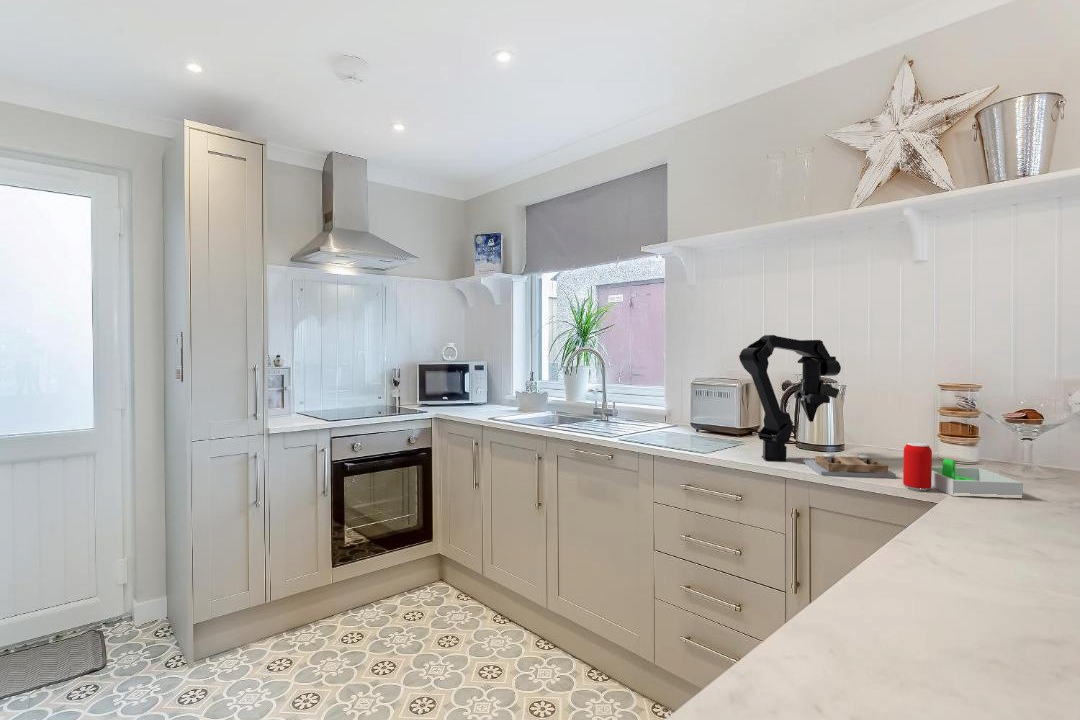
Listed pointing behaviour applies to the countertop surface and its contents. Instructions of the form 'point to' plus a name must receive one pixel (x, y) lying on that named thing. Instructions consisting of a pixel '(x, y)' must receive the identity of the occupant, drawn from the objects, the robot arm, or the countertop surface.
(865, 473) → the boss board
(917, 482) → the beverage can
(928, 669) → the countertop surface
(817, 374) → the robot arm
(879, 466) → the panel
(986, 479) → the frame
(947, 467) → the mechanical part
